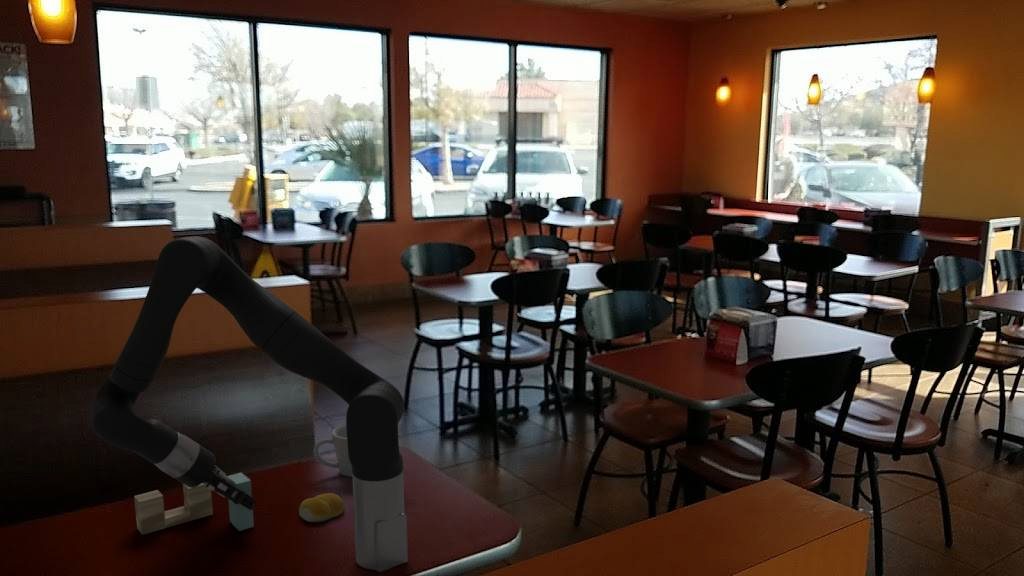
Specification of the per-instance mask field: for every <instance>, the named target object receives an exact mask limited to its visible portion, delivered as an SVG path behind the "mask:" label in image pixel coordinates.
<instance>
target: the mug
mask: <svg viewBox="0 0 1024 576" xmlns="http://www.w3.org/2000/svg"><path fill="white" fill-rule="evenodd" d="M331 436H332V438H323V439H321V440H318V441H317V442H316V443H315V444H314V447H313V448H312V449H313V450H312V453H313V456H314V458H315V459H316V460H317V461H318V463H320V464H322V465H323V466H326V467H327V468H328V467H330V468H334V469H338V470H339V471H338V472H339V473H340V474H341V475H342V476H344V477H350V478H351V477H352V478H353V476H352V465H351V463H350V460H349V456H348V444H347V430H346V424H344V425H340V426H337V427H335V428H334V429H333V430H332V431H331ZM325 444H333V446H334V451H335V456H336V461H337V463H336V462H335V463H334V462H331V461H329V460H326V459H324V458H323V457H322V456H321V455H320V453H319V448H321V446H322V445H325Z"/></svg>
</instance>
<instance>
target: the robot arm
mask: <svg viewBox="0 0 1024 576" xmlns="http://www.w3.org/2000/svg"><path fill="white" fill-rule="evenodd" d="M197 289H198V290H200V291H201V292H203V293H204V294H206V295H208V296H209V297H211V298H212V299H213V300H214V301H216V302H217V303H219V304H220V305H221V306H223V307H224V308H225V309H226V310H227V311H228V312H229V313H230V314H231V316H232V317H233V319H235V321H236V322H237V324H238V325H239V327H240V328H241V330H242V331H243V332H244V333H245V335H246V336H247V338H248V339H249V340H250V342H251V343H252V344H253V345H255V347H257V349H258V350H260V351H261V352H262V353H264V355H266V356H267V357H268V358H270V360H272V361H274V362H275V363H276V364H277V365H279V366H281V367H282V368H283V369H285V370H287V371H288V372H291V373H293V374H295V375H297V376H301V377H303V378H305V379H308V380H310V381H313V382H315V383H318V384H320V385H323V386H324V387H326V388H328V389H329V390H331V391H332V392H333V393H335V394H336V395H337V396H338V397H340V398H341V399H342V400H343V401H344V402H345V403H346V404H347V405H348V407H347V409H346V413H345V414H346V416H345V417H346V418H345V422H346V424H345V425H346V430H347V444H348V456H349V460H350V463H351V465H352V476H353V477H352V495H353V496H352V497H353V498H352V499H353V500H352V501H353V519H354V520H353V523H354V542H355V545H354V546H355V560H356V563H357V565H358V566H360V567H362V568H364V569H366V570H373V571H376V572H378V573H382V572H385V571H387V570H390V569H393V568H394V567H397V566H400V565H402V564H406V563H407V562H408V559H409V558H408V555H409V554H408V529H407V523H408V521H407V514H406V513H405V493H404V492H405V491H404V489H405V488H404V487H405V486H404V459H403V458H404V457H403V455H402V453H401V452H400V445H399V442H400V441H399V423H400V420H402V417H403V415H404V412H405V400H404V397H403V395H402V393H401V392H400V390H399V389H398V388H397V387H396V386H394V384H392V383H391V382H389V381H387V380H386V379H385V378H383V377H381V376H380V375H378V374H376V373H375V372H373V371H372V370H370V369H369V368H367V367H366V366H364V365H363V364H361V363H360V362H359V361H357V360H355V358H353V357H352V356H351V355H349V354H348V353H347V352H345V351H344V350H343V349H342V348H341V347H340V346H339V345H337V344H336V343H335V342H334V341H332V340H331V339H330V338H329V337H328V336H326V335H325V334H324V333H323V332H322V331H320V330H319V329H318V328H317V327H316V326H314V325H313V323H311V322H309V320H307V319H306V318H305V317H304V316H302V315H301V314H300V313H298V311H296V310H295V309H294V308H292V307H290V306H289V305H287V304H286V302H284V301H282V300H281V299H280V298H278V297H277V296H276V295H275V294H273V292H271V291H269V290H268V289H267V288H266V287H264V286H262V285H261V284H260V283H258V282H257V281H255V280H254V279H253V278H252V277H250V276H249V275H248V274H247V273H246V272H245V271H244V270H243V269H242V268H241V267H240V265H238V264H237V263H236V262H235V261H234V260H233V259H232V258H231V257H230V256H229V255H228V254H227V253H226V252H225V251H224V250H223V249H222V248H221V247H220V246H219V245H218V244H217V243H215V242H214V241H213V240H210V239H209V238H206V237H203V236H200V235H199V236H197V235H196V236H195V235H194V236H192V235H191V236H186V237H180V238H175V239H173V240H171V241H169V242H168V243H166V244H165V245H164V247H162V249H161V251H160V252H159V254H158V257H157V260H156V263H155V267H154V269H153V273H152V276H151V280H150V283H149V286H148V290H147V292H146V296H145V299H144V302H143V304H142V306H141V310H140V312H139V314H138V317H137V319H136V322H135V323H134V326H133V329H132V330H131V333H130V334H129V336H128V339H127V341H126V342H125V344H124V346H123V348H122V349H121V352H120V354H119V356H118V358H117V359H116V362H115V363H114V366H113V368H112V370H111V372H110V373H109V375H108V376H107V377H106V378H105V380H104V381H103V382H102V384H101V385H100V386H99V388H98V389H97V391H96V393H95V395H94V397H93V400H92V402H91V404H90V419H91V428H92V430H93V432H94V434H95V435H96V436H97V437H98V438H99V439H101V440H102V441H103V442H105V443H107V444H109V445H111V446H114V447H117V448H119V449H123V450H125V451H129V452H131V453H132V452H133V453H135V454H137V455H139V456H140V457H141V458H143V459H145V460H147V461H148V462H149V463H151V464H153V465H155V466H156V467H157V468H158V469H159V470H160V471H162V472H164V473H165V474H167V475H168V476H170V477H172V478H173V479H175V480H177V481H178V482H180V483H182V485H183V484H185V485H186V486H188V487H191V488H193V487H197V486H199V485H200V484H201V483H203V484H204V485H206V487H207V488H209V489H210V490H211V491H214V492H215V493H216V494H218V495H219V496H221V497H223V498H226V499H230V500H231V501H233V502H234V503H235V504H241V505H242V506H244V507H246V508H247V509H249V510H252V509H253V510H254V508H255V507H256V505H257V504H258V500H257V499H256V498H254V497H253V496H252V497H251V496H249V495H248V494H246V493H245V492H244V490H241V489H240V488H238V487H237V486H236V482H234V481H233V480H231V479H230V478H229V477H227V476H228V475H226V473H225V472H224V471H223V470H221V469H220V468H219V467H218V466H217V465H216V460H217V459H216V455H215V454H214V453H213V452H211V451H210V450H209V449H207V448H205V447H204V446H202V445H201V444H199V443H197V442H196V440H195V441H194V440H193V439H191V438H189V437H188V436H187V435H185V434H182V433H180V432H178V431H177V430H175V429H173V428H172V427H170V426H169V425H167V424H166V423H164V422H162V421H160V420H158V419H155V418H150V419H145V418H142V417H140V416H139V415H138V414H137V413H135V408H134V406H135V404H136V402H137V400H138V399H139V397H140V394H141V393H144V392H145V391H147V390H148V389H149V388H150V387H151V385H152V384H153V382H154V380H155V378H156V376H157V374H158V372H159V370H160V369H161V366H162V365H163V363H164V361H165V358H166V356H167V354H168V350H169V346H170V344H171V339H172V335H173V331H174V327H175V324H176V321H177V318H178V316H179V315H180V313H181V311H182V308H183V307H184V305H185V304H186V303H187V301H188V299H189V298H190V297H191V295H192V294H193V293H194V291H196V290H197ZM228 481H229V482H230V483H229V482H228ZM235 491H237V494H236V495H235V496H234V497H232V494H233V493H234V492H235Z"/></svg>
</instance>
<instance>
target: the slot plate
mask: <svg viewBox="0 0 1024 576" xmlns="http://www.w3.org/2000/svg"><path fill="white" fill-rule="evenodd" d="M182 488H183V491H182V492H183V500H184V505H183V506H180V507H176V508H173V509H169V510H165V503H164V495H163V494H162V493H161V492H160V491H159V489H156V490H153V491H148V492H145V493H142V494H141V493H140V494H137V495H134V496H133V497H134V507H135V508H134V509H135V519H136V527H137V528H136V529H137V530H138V532H139V533H140V534H141V535H147V534H149V533H153V532H157V531H161V530H163V529H168V528H171V527H174V526H178V525H181V524H185V523H188V522H192V521H195V520H198V519H202V518H206V517H209V516H212V515H214V513H213V512H214V510H213V499H212V498H213V497H212V490H210V489H209V488H207V487H206V485H204V484H203V483H201V484H200V485H199V486H197V487H193V488H191V487H188V486H186V485H185V484H183V483H182Z"/></svg>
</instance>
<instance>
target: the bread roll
mask: <svg viewBox="0 0 1024 576" xmlns="http://www.w3.org/2000/svg"><path fill="white" fill-rule="evenodd" d="M344 508H345V504H344V502H343V500H342V498H341V497H340V495H337V494H335V493H332V492H330V493H329V492H328V493H322V494H318V495H316V496H315V497H309V498H306V499H304V500H303V501H302V502H301V503H300V505H299V508H298V512H299V513H298V514H299V516H300V518H302V519H303V520H304V521H306V522H310V523H319V522H320V523H321V522H325V521H328V520H331V519H332V518H336V517H339V516H340V515H341V514H342V513H343V512H344Z"/></svg>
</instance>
